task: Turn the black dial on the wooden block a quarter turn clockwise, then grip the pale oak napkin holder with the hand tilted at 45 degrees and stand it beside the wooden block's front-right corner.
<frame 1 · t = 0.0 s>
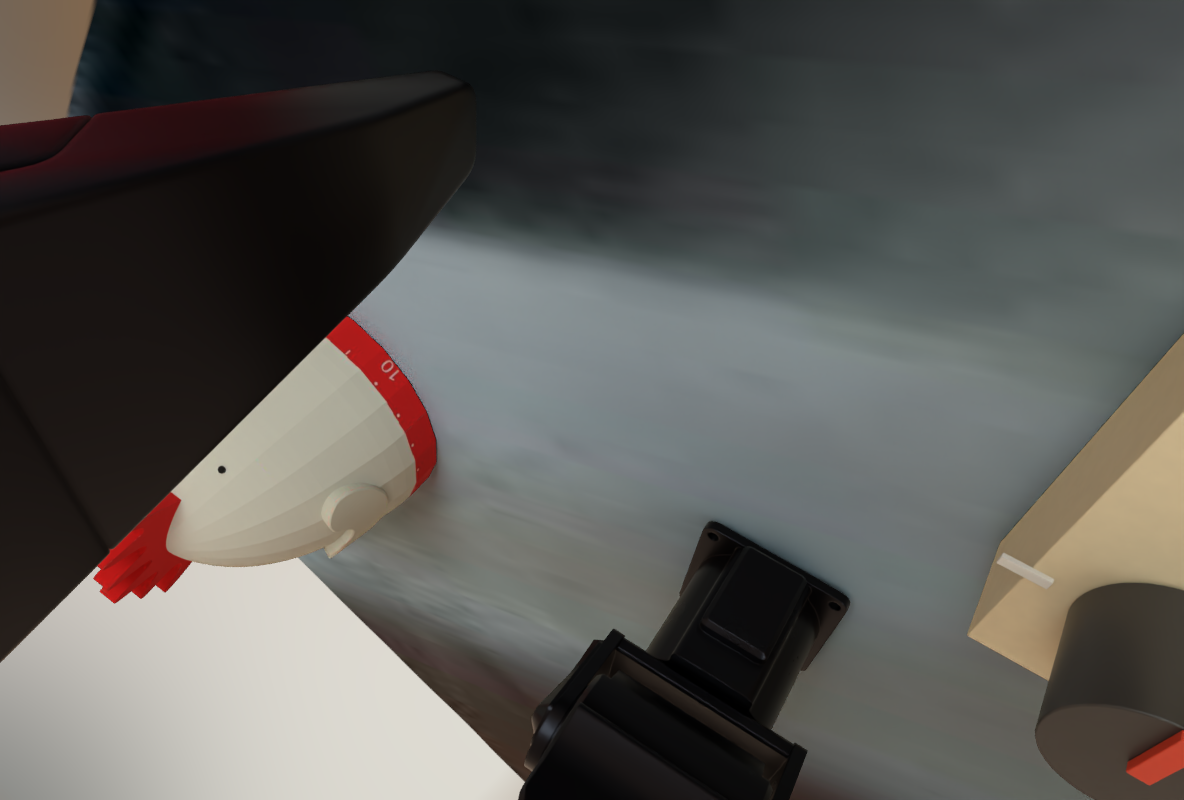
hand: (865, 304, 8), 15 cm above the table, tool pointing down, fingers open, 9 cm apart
dial: (1149, 707, 21), point 6 cm above the table, hinge at 0.0°
kitchen timer: (339, 387, 48), on the table
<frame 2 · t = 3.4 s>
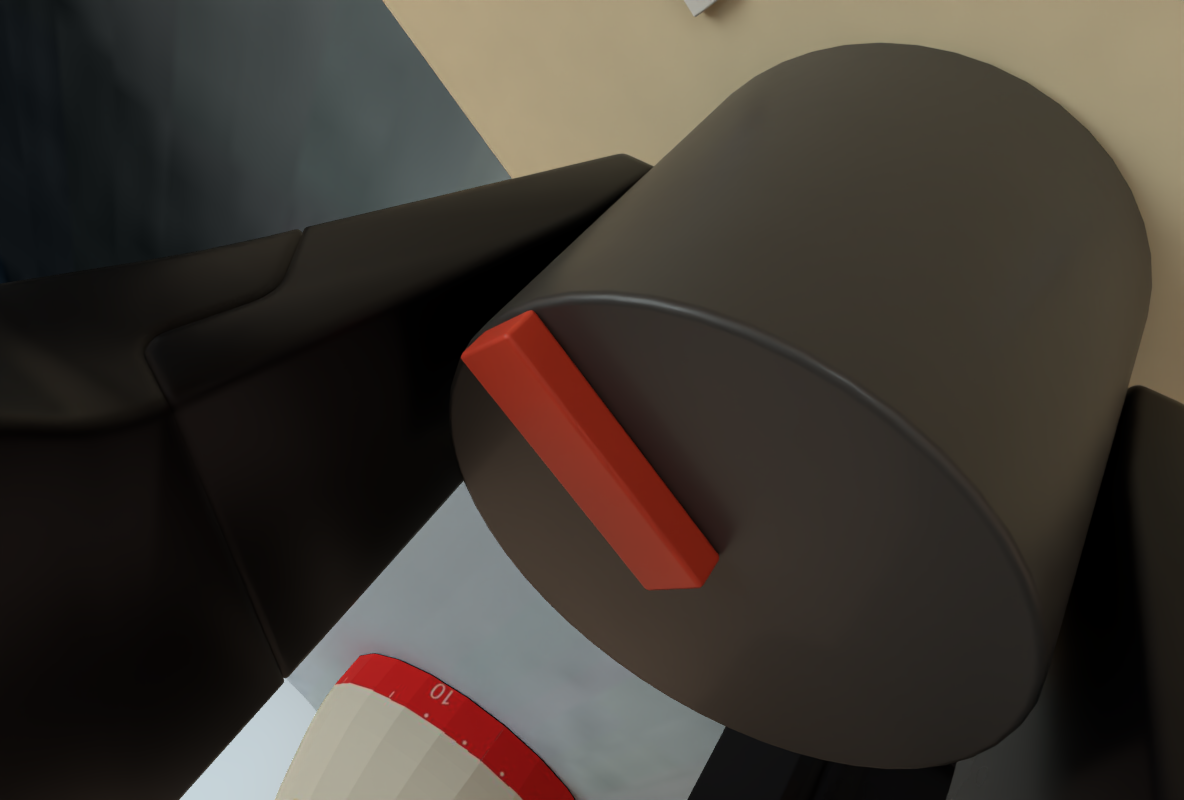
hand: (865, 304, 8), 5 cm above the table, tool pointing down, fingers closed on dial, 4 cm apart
dial: (796, 408, 7), point 6 cm above the table, hinge at 0.0°, touching gripper
kitchen timer: (470, 749, 42), on the table
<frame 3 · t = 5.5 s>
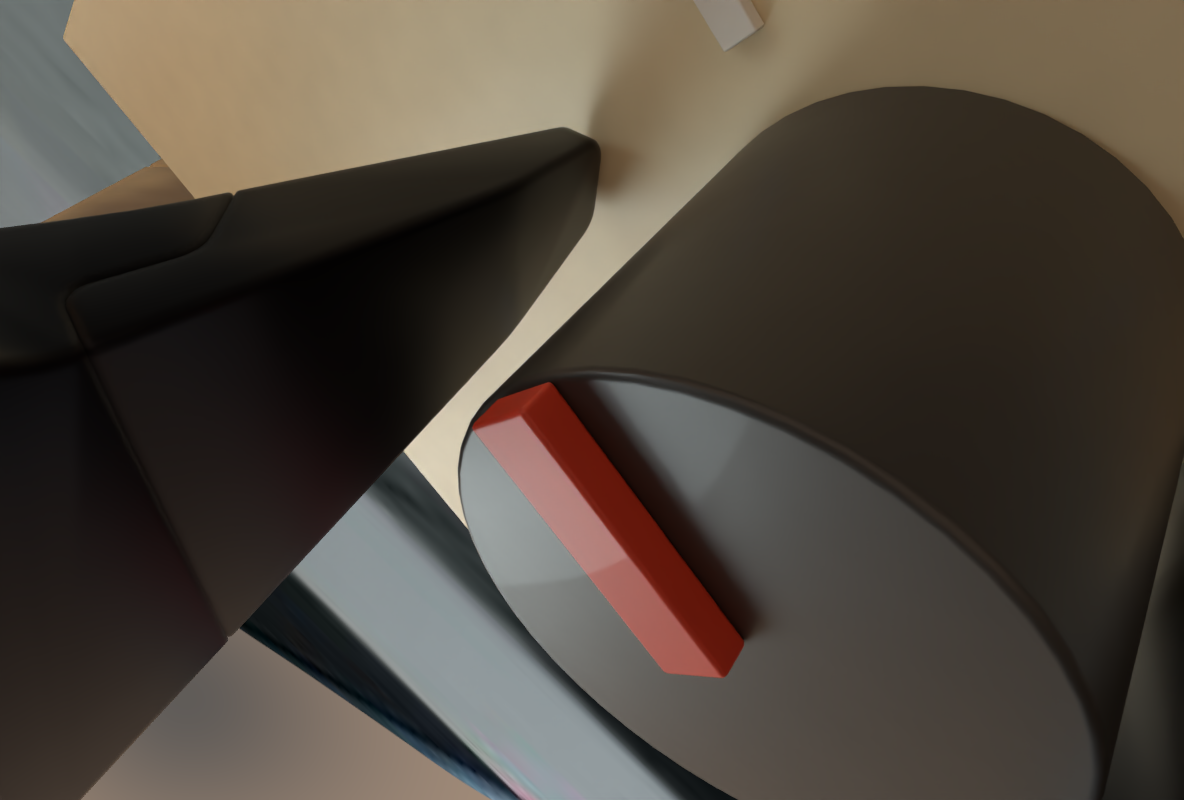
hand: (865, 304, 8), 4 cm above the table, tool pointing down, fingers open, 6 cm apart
dial: (825, 471, 7), point 6 cm above the table, hinge at -90.1°
wooden block: (727, 66, 12), on the table
napkin holder: (292, 247, 21), on the table
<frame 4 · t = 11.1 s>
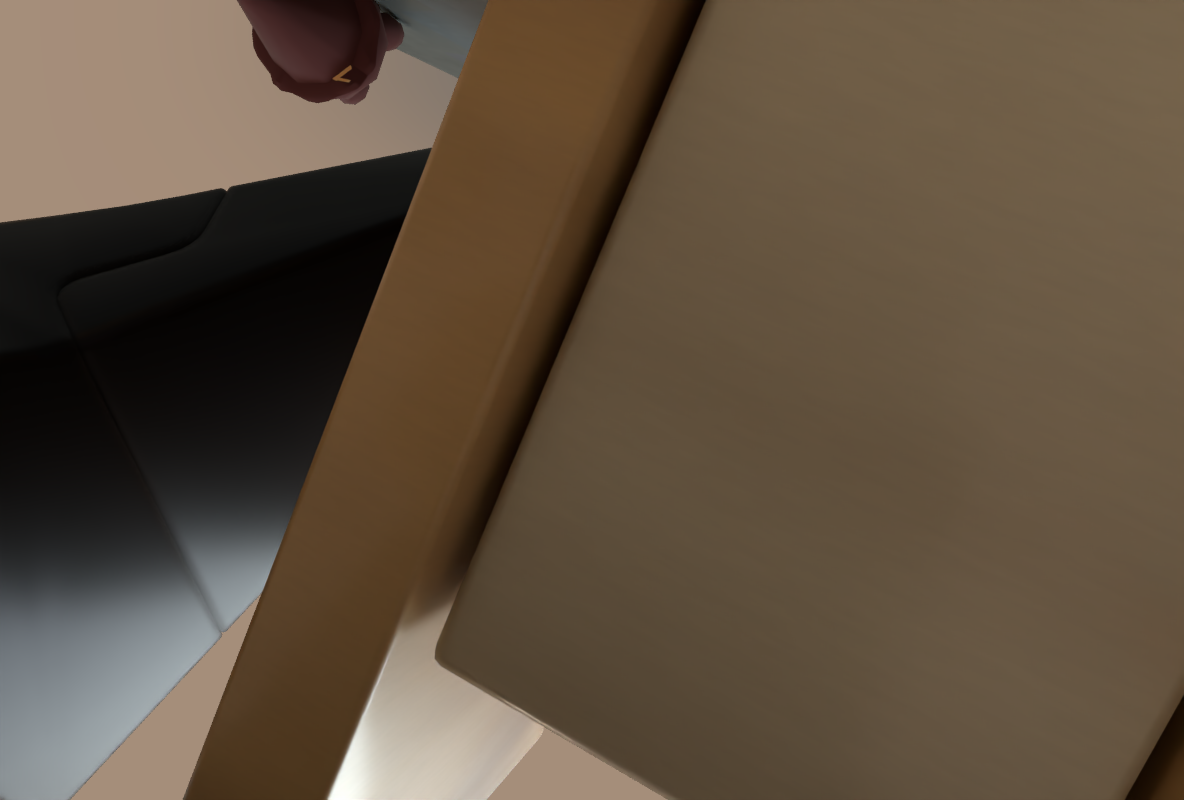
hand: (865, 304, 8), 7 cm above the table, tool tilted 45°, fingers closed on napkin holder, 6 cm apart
when the fingers open (7 cm above the table, at t = 17.2 s): napkin holder stays where it is, on the table.
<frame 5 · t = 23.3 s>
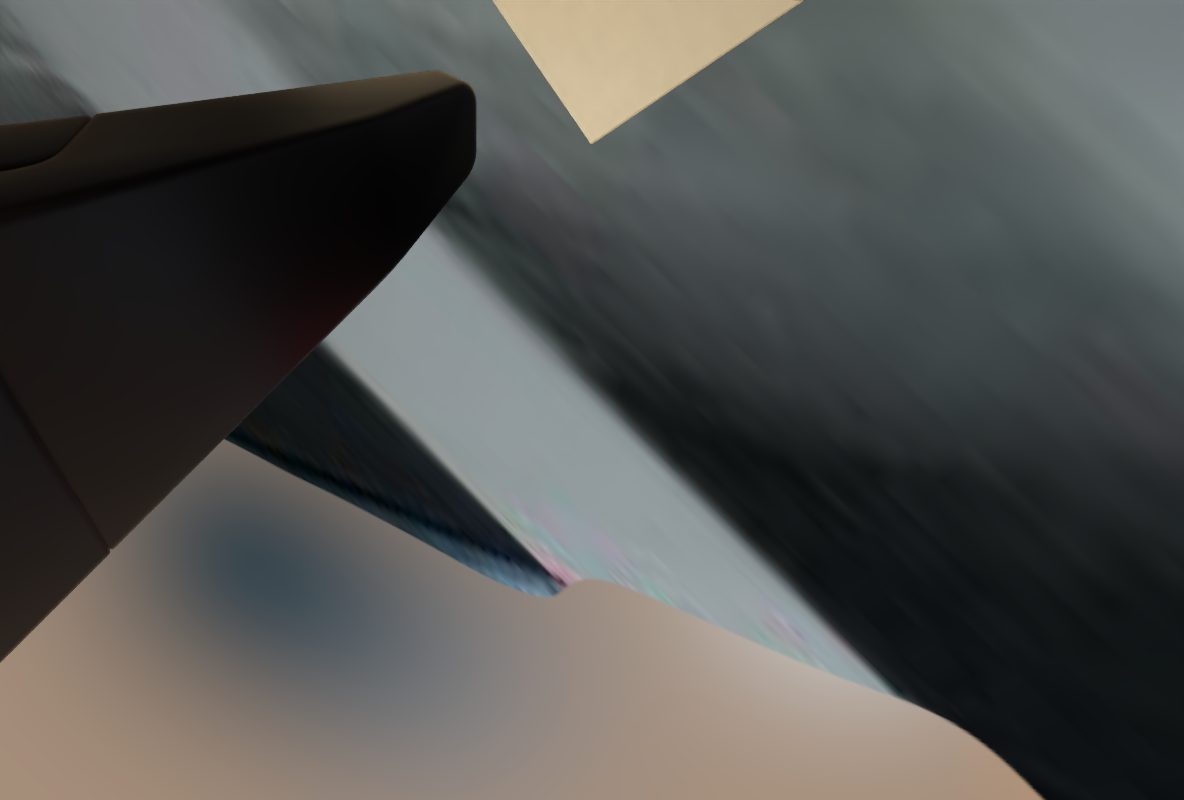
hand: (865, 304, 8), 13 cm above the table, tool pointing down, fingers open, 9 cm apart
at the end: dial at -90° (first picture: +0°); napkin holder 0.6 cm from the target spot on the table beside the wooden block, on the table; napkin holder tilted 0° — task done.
